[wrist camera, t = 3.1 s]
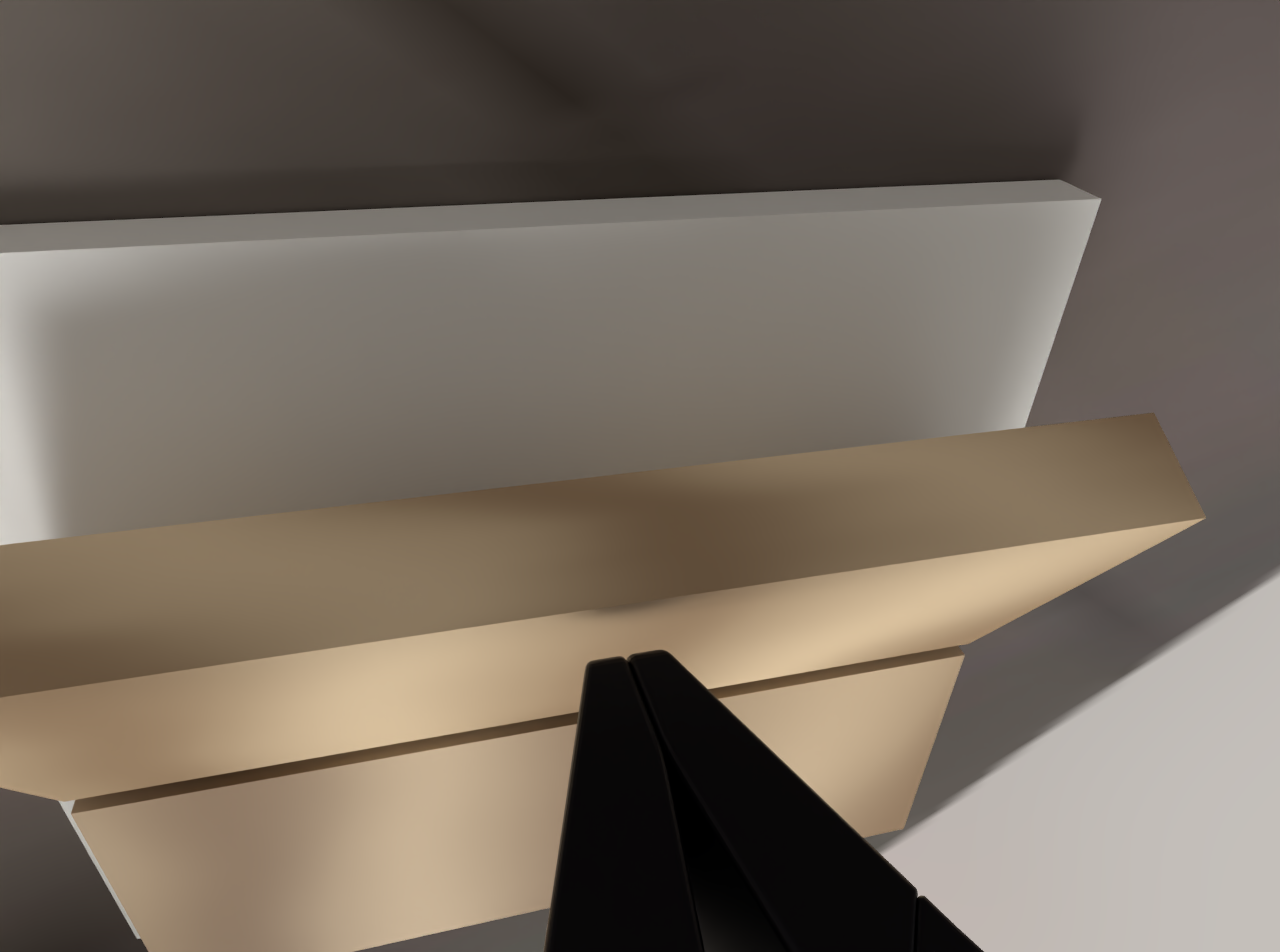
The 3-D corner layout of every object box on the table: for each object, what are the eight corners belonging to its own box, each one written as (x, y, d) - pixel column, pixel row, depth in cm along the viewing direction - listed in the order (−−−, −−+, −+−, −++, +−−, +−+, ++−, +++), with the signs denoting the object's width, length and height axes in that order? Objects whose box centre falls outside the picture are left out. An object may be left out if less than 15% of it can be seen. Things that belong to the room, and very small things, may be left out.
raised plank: (70, 699, 13) (64, 802, 13) (-208, 569, 8) (-242, 733, 7) (941, 567, 17) (969, 643, 16) (1153, 412, 11) (1206, 518, 11)
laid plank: (184, 914, 17) (171, 991, 16) (95, 734, 14) (71, 814, 13) (873, 772, 21) (903, 828, 19) (924, 601, 17) (964, 654, 16)
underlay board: (147, 892, 18) (136, 939, 17) (-199, 233, 10) (-247, 265, 9) (887, 744, 22) (906, 777, 21) (1059, 179, 14) (1101, 199, 13)
